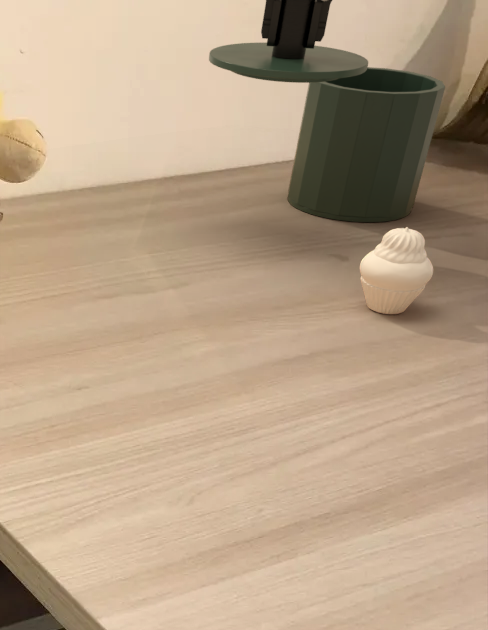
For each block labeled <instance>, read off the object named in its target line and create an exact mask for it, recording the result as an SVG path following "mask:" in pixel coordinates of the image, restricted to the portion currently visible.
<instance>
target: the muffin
mask: <svg viewBox="0 0 488 630" xmlns="http://www.w3.org/2000/svg"><path fill="white" fill-rule="evenodd" d="M425 244H426V240H425V237H424V236H423V234H422V233H421V232H419V231H418V230H415V229H412V228H409V227H408V226H406V227H405V228H404V227H397V228H393V229H390V230H389V231H388V232H386V233H384V235H382V239H381V242H380V243H378V244H377V245H376V246H375V248H374V249H372V250H371V251H370V252H368V253H367V254H366V255H365V256H364V257H363V258H362V260H361V261H360V264H359V273H360V275H361V276H360V277H359V278H360V284H361V287H362V292H363V295H364V298H365V302H366V306H367V308H368V309H369V310H370V311H373V312H376V313H379V314H383V315H398V314H402V313H404V312H405V311H406V310H407V308H409V306H410V305H412V303H413V302H414V301H415V300H416V298H418V296H419V295H420V294H421V293H422V292H423V290H424V289H426V285H427V284H428V282H429V281H430V280H431V279H432V277H433V274H434V266H433V264H432V261H431V260H430V258H429V257H428V253H427V251H426V249H425V246H426V245H425Z"/></svg>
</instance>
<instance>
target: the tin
mask: <svg viewBox="0 0 488 630" xmlns="http://www.w3.org/2000/svg"><path fill="white" fill-rule="evenodd" d="M445 89H446V85H445V84H444V82H443V81H442V80H440V79H437V78H436V77H433V76H431V75H426V74H422V73H418V72H414V71H409V70H401V69H393V68H384V67H370V66H368V67H367V70H366V71H365V72H364V73H362V74H360V75H357V76H352V77H346V78H340V79H337V80H333V81H326V82H312V83H308V86H307V92H306V96H305V101H304V106H303V112H302V116H301V122H300V128H299V133H298V138H297V143H296V149H295V154H294V159H293V164H292V169H291V173H290V180H289V184H288V192H287V198H286V199H287V202H288V204H290V205H291V206H292V207H294V208H295V209H297V210H299V211H301V212H303V213H306V214H310V215H313V216H316V217H320V218H324V219H330V220H335V221H343V222H352V223H383V222H384V223H385V222H392V221H397V220H401V219H403V218H405V217H407V216H409V215H410V213H411V212H412V209H413V208H414V206H415V203H416V202H415V201H416V198H417V194H418V190H419V186H420V183H421V179H422V175H423V171H424V168H425V165H426V160H427V157H428V152H429V149H430V146H431V142H432V138H433V135H434V130H435V127H436V124H437V121H438V120H437V119H438V115H439V112H440V108H441V105H442V101H443V98H444V93H445Z"/></svg>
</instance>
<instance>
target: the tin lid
mask: <svg viewBox="0 0 488 630" xmlns="http://www.w3.org/2000/svg"><path fill="white" fill-rule="evenodd" d="M314 3H315V0H282V3H281V9H280V15H279V20H278V26H277V32H276V38H275V44H274V46H267V42H241V43H240V42H239V43H231V44H225V45H221V46H217V47H215V48H212V49H211V50H209V54H208V62H210V64H212V65H213V66H215V67H217V68H220V69H222V70H226V71H230V72H232V73H233V74H236V75H238V76H242V77H246V78H251V79H255V80H261V81H268V82H278V83H279V82H281V83H296V84H297V83H298V84H302V83H305V84H306V83H307V84H309V83H312V82H326V81H333V80H337V79H340V78H346V77H352V76H357V75H360V74H362V73H364V72H365V71H366V70H367V67H369V60H368V58H366V57H364V56H362V55H360V54H357V53H355V52H351V51H347V50H343V49H338V48H334V47H327V46H321V45H314V49H311V48H306V45H307V40H308V35H309V29H310V24H311V19H312V13H313V8H314Z"/></svg>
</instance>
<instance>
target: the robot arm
mask: <svg viewBox="0 0 488 630" xmlns="http://www.w3.org/2000/svg"><path fill="white" fill-rule="evenodd" d="M332 2H333V0H315V3H314V8H313V13H312V19H311V24H310V29H309V35H308V40H307V45H306V48H311V49H314V46H316V45H315V44H316V42H322V40H323V39H324V36H325V32H326V27H327V24H328V23H327V22H328V17H329V12H330V7H331V4H332ZM281 3H282V0H265V5H264V11H263V17H262V23H261V28H260V29H261V31H260V33H261V37H262V38H261V39H264V40H265V39H266V40H267V41H266V43H267V46H274V44H275V38H276V32H277V26H278V20H279V15H280V9H281Z"/></svg>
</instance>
